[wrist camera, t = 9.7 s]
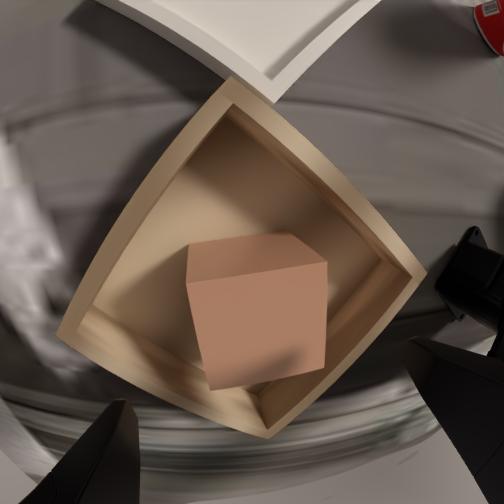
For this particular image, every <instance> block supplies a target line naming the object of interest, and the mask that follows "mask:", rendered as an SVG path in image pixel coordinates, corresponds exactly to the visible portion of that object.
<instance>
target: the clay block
mask: <svg viewBox="0 0 504 504" xmlns="http://www.w3.org/2000/svg"><path fill="white" fill-rule="evenodd" d="M186 287H187V292H188V297H189V302H190V307H191V312H192V317H193V322H194V326H195V331H196V335H197V340H198V344H199V348H200V353H201V357H202V361H203V365H204V369H205V373H206V377H207V381H208V385H209V389H210V391H214V390H220V389H227V388H233V387H239V386H245V385H250V384H256V383H261V382H266V381H271V380H276V379H280V378H285V377H289V376H294V375H298V374H302V373H306V372H310V371H314V370H318V369H322V368H324V362H325V344H326V321H327V261H326V260H325V259H324V258H323V257H321V256H320V255H319V254H317V253H316V252H315V251H314V250H312V249H311V248H310V247H308V246H307V245H306V244H304V243H303V242H302V241H301V240H299V239H298V238H297V237H295V236H294V235H293V234H291V233H290V232H289V231H287V230H285V231H277V232H269V233H262V234H255V235H247V236H240V237H233V238H226V239H218V240H211V241H204V242H197V243H190V244H189V248H188V260H187V273H186Z"/></svg>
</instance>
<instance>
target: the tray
mask: <svg viewBox="0 0 504 504" xmlns="http://www.w3.org/2000/svg"><path fill="white" fill-rule="evenodd" d="M95 1H97V2H99V3H101V4H103V5H105V6H107V7H109V8H111V9H113V10H115V11H117V12H119V13H121V14H122V15H124V16H126V17H128V18H130V19H132V20H133V21H135V22H137V23H139V24H141V25H142V26H144V27H146V28H147V29H149V30H151V31H153V32H154V33H156V34H158V35H159V36H161V37H162V38H164V39H166V40H167V41H169V42H170V43H172V44H174V45H175V46H177V47H178V48H180V49H181V50H183V51H184V52H186V53H187V54H189V55H190V56H192V57H193V58H195V59H196V60H198V61H199V62H201V63H202V64H204V65H205V66H206V67H208V68H209V69H211V70H212V71H213V72H215V73H216V74H218V75H219V76H220V77H222V78H223V79H224V80H227V79H228V78H229V77H230V76H231V77H233V78H234V79H235V80H237V81H238V82H239V83H241V84H242V85H243V86H245V87H246V88H247V89H248V90H250V91H251V92H252V93H253V94H255V95H256V96H257V97H258V98H260V99H261V100H262V101H263V102H265V103H266V104H267V105H268V106H269V107H270V106H272V105H273V104H274V103H275V102H276V101H277V100H278V99H279V98H280V97H281V96H282V95H283V94H284V93H285V91H286V90H287V89H288V88H289V87H290V86H291V85H292V84H293V83H294V82H295V81H296V80H297V79H298V78H299V77H300V76H301V75H302V74H303V73H304V72H305V71H306V70H307V69H308V68H309V67H310V66H311V64H312V63H313V62H314V61H315V60H316V59H318V58H319V57H320V56H321V55H322V54H323V53H324V52H325V51H326V50H327V49H328V48H329V47H330V46H331V45H332V44H333V43H334V42H335V41H336V40H337V39H338V38H339V37H340V36H341V35H342V34H344V33H345V32H346V31H347V30H348V29H349V28H350V27H351V26H352V25H353V24H354V23H356V22H357V21H358V20H359V19H360V18H361V17H362V16H363V15H365V14H366V13H367V12H368V11H369V10H370V9H372V8H373V7H374V6H375V5H376V4H377V3H379V2H380V1H381V0H95Z"/></svg>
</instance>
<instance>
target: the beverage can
mask: <svg viewBox="0 0 504 504" xmlns="http://www.w3.org/2000/svg"><path fill="white" fill-rule="evenodd" d="M474 18H475V21H476V24H477V26H478V28H479V30H480V32H481V34H482V36H483V38H484V39H485V41H486V42H487V43H488V45H489V46H490V47H491V49H492V50H493V51H494V52H495V53H497V54H499V55H501V56H504V0H492V1H489V2H486V3H483V4H481V5H478V6H476V7H475V9H474Z"/></svg>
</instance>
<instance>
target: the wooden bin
mask: <svg viewBox="0 0 504 504" xmlns="http://www.w3.org/2000/svg"><path fill="white" fill-rule="evenodd" d="M285 230H287V231H289V232H290V233H291V234H293V235H294V236H295V237H297V238H298V239H299V240H301V241H302V242H303V243H304V244H306V245H307V246H308V247H310V248H311V249H312V250H314V251H315V252H316V253H317V254H319V255H320V256H321V257H323V258H324V259H325V260H326V261H327V321H326V344H325V362H324V368H322V369H318V370H314V371H310V372H306V373H302V374H298V375H294V376H289V377H285V378H280V379H276V380H271V381H266V382H261V383H256V384H250V385H245V386H239V387H233V388H227V389H220V390H214V391H210V389H209V385H208V381H207V377H206V373H205V369H204V365H203V361H202V357H201V353H200V348H199V344H198V340H197V335H196V331H195V326H194V322H193V317H192V312H191V307H190V302H189V297H188V292H187V287H186V273H187V260H188V248H189V244H190V243H197V242H204V241H211V240H218V239H226V238H233V237H240V236H247V235H255V234H262V233H269V232H277V231H285ZM426 274H427V272H426V271H425V269H424V268H423V267H422V265H421V264H420V263H419V261H418V260H417V259H416V258H415V256H414V255H413V254H412V252H411V251H410V250H409V249H408V247H407V246H406V245H405V244H404V242H403V241H402V240H401V239H400V238H399V236H398V235H397V234H396V233H395V232H394V230H393V229H392V228H391V227H390V226H389V224H388V223H387V222H386V221H385V220H384V219H383V217H382V216H381V215H380V214H379V213H378V212H377V211H376V209H375V208H374V207H373V206H372V205H371V204H370V203H369V202H368V201H367V199H366V198H365V197H364V196H363V195H362V194H361V193H360V192H359V191H358V190H357V189H356V188H355V187H354V185H353V184H352V183H351V182H350V181H349V180H348V179H347V178H346V177H345V176H344V175H343V174H342V173H341V172H340V171H339V170H338V169H337V168H336V167H335V166H334V165H333V164H332V163H331V162H330V161H329V160H328V159H327V158H326V157H325V156H324V155H323V154H322V153H321V152H320V151H319V150H318V149H317V148H316V147H314V146H313V145H312V144H311V143H310V142H309V141H308V140H307V139H306V138H305V137H304V136H303V135H302V134H300V133H299V132H298V131H297V130H296V129H295V128H294V127H293V126H291V125H290V124H289V123H288V122H287V121H286V120H285V119H284V118H282V117H281V116H280V115H279V114H278V113H277V112H275V111H274V110H273V109H272V108H271V107H269V106H268V105H267V104H266V103H265V102H263V101H262V100H261V99H260V98H258V97H257V96H256V95H255V94H253V93H252V92H251V91H250V90H248V89H247V88H246V87H245V86H243V85H242V84H241V83H239V82H238V81H237V80H235V79H234V78H233V77H231V76H230V77H229V78H228V79H227V80H226V81H225V82H224V83H223V84H222V85H221V86H220V87H219V88H218V90H217V91H216V92H215V93H214V94H213V95H212V96H211V97H210V98H209V99H208V100H207V102H206V103H205V104H204V105H203V106H202V107H201V108H200V110H199V111H198V112H197V113H196V114H195V115H194V116H193V118H192V119H191V120H190V121H189V122H188V124H187V125H186V126H185V127H184V128H183V130H182V131H181V132H180V133H179V134H178V136H177V137H176V138H175V139H174V141H173V142H172V143H171V144H170V146H169V147H168V148H167V150H166V151H165V152H164V153H163V155H162V156H161V157H160V159H159V160H158V161H157V163H156V164H155V165H154V167H153V168H152V169H151V171H150V172H149V174H148V175H147V176H146V178H145V179H144V180H143V182H142V183H141V185H140V186H139V188H138V189H137V190H136V192H135V193H134V195H133V196H132V198H131V199H130V201H129V202H128V204H127V205H126V207H125V208H124V210H123V211H122V213H121V214H120V216H119V217H118V219H117V221H116V222H115V224H114V225H113V227H112V229H111V230H110V232H109V233H108V235H107V237H106V238H105V240H104V242H103V243H102V245H101V247H100V248H99V250H98V252H97V254H96V255H95V257H94V259H93V261H92V262H91V264H90V266H89V268H88V270H87V271H86V273H85V275H84V277H83V279H82V281H81V283H80V285H79V287H78V288H77V290H76V292H75V294H74V296H73V298H72V300H71V302H70V304H69V306H68V308H67V311H66V313H65V315H64V317H63V319H62V321H61V323H60V326H59V328H58V330H57V332H56V335H55V336H56V337H57V338H59V339H60V340H62V341H63V342H65V343H66V344H67V345H69V346H70V347H72V348H73V349H75V350H76V351H78V352H79V353H81V354H82V355H84V356H86V357H87V358H89V359H90V360H92V361H93V362H95V363H97V364H98V365H100V366H102V367H103V368H105V369H107V370H108V371H110V372H112V373H114V374H115V375H117V376H119V377H121V378H122V379H124V380H126V381H128V382H130V383H131V384H133V385H135V386H137V387H139V388H141V389H143V390H145V391H147V392H149V393H151V394H153V395H155V396H157V397H159V398H161V399H163V400H165V401H167V402H170V403H172V404H174V405H176V406H178V407H181V408H183V409H185V410H187V411H190V412H192V413H195V414H197V415H199V416H202V417H204V418H207V419H209V420H212V421H215V422H217V423H220V424H223V425H225V426H228V427H231V428H234V429H237V430H239V431H242V432H245V433H248V434H252V435H255V436H258V437H261V438H265V439H268V440H269V439H270V438H271V437H273V436H274V435H275V434H276V433H278V432H279V431H280V430H281V429H283V428H284V427H285V426H286V425H287V424H289V423H290V422H291V421H292V420H293V419H295V418H296V417H297V416H298V415H299V414H300V413H301V412H303V411H304V410H305V409H306V408H307V407H308V406H309V405H310V404H312V403H313V402H314V401H315V400H316V399H317V398H318V397H319V396H320V395H321V394H322V393H324V392H325V391H326V390H327V389H328V388H329V387H330V386H331V385H332V384H333V383H334V382H335V381H336V380H337V379H338V378H339V377H340V376H341V375H342V374H343V373H344V372H345V371H346V370H347V369H348V368H349V367H350V366H351V365H352V364H353V363H354V362H355V361H356V360H357V359H358V357H359V356H360V355H361V354H362V353H363V352H364V351H365V350H366V349H367V348H368V347H369V345H370V344H371V343H372V342H373V341H374V340H375V339H376V338H377V336H378V335H379V334H380V333H381V332H382V331H383V330H384V328H385V327H386V326H387V325H388V324H389V322H390V321H391V320H392V319H393V318H394V316H395V315H396V314H397V313H398V311H399V310H400V309H401V308H402V306H403V305H404V304H405V303H406V301H407V300H408V299H409V297H410V296H411V295H412V294H413V292H414V291H415V290H416V288H417V287H418V285H419V284H420V283H421V281H422V280H423V279H424V277H425V276H426Z"/></svg>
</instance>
